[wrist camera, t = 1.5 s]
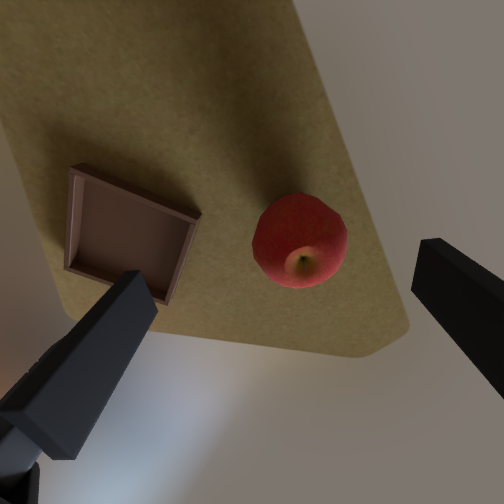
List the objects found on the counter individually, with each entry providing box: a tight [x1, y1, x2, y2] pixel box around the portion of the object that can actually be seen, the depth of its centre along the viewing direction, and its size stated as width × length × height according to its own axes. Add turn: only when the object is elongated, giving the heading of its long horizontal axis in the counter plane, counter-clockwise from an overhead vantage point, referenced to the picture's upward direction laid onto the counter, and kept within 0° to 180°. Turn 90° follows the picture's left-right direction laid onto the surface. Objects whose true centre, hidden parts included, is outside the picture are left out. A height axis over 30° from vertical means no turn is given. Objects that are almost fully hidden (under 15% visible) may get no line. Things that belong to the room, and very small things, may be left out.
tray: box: [64, 163, 202, 306], centre depth 35 cm, size 17×17×2 cm
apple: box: [252, 192, 347, 289], centre depth 28 cm, size 10×10×14 cm
